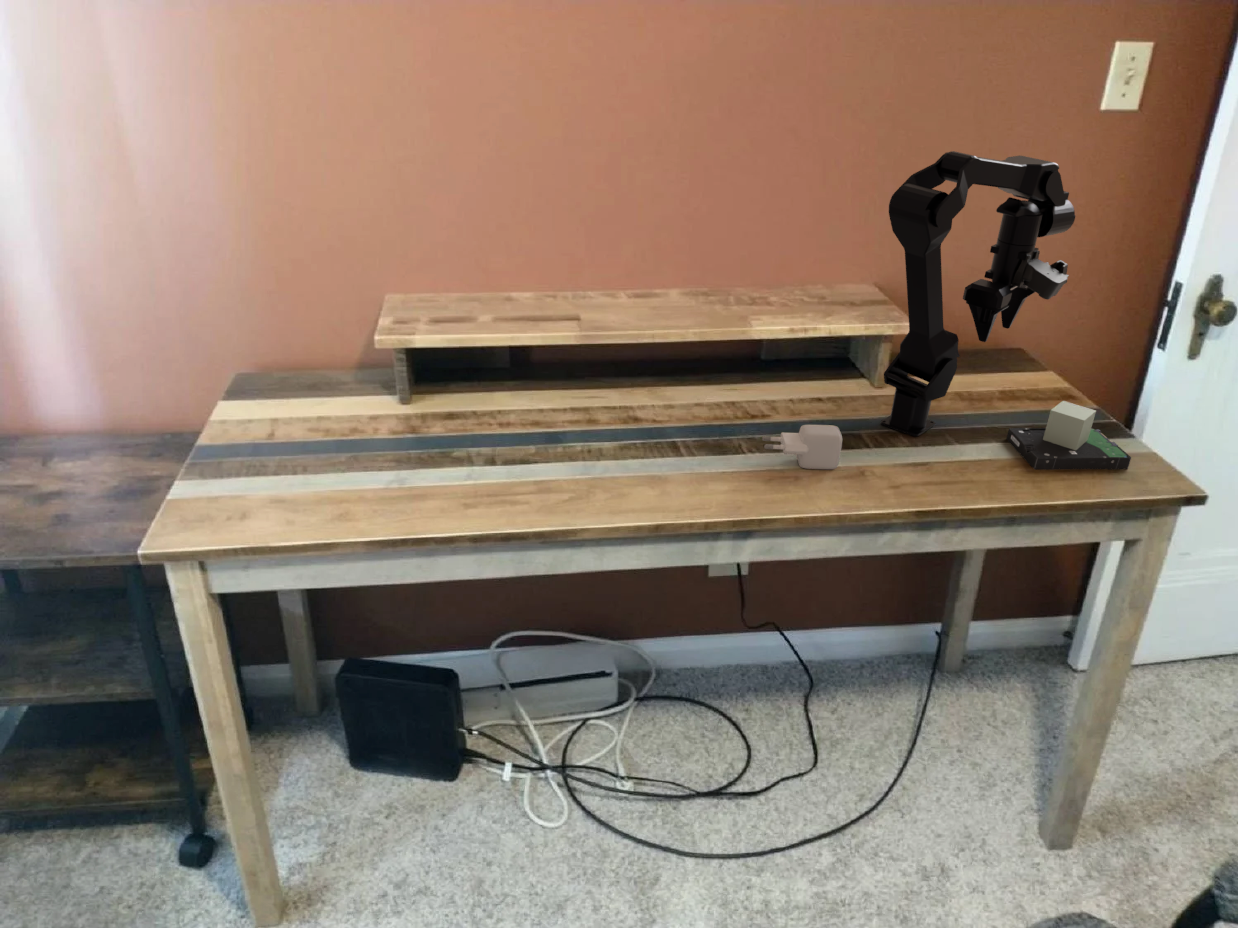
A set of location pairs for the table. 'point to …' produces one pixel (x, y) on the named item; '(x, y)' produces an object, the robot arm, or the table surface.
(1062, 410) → the sage block
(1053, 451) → the disk drive
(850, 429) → the table surface
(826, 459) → the power adapter
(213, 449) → the table surface
